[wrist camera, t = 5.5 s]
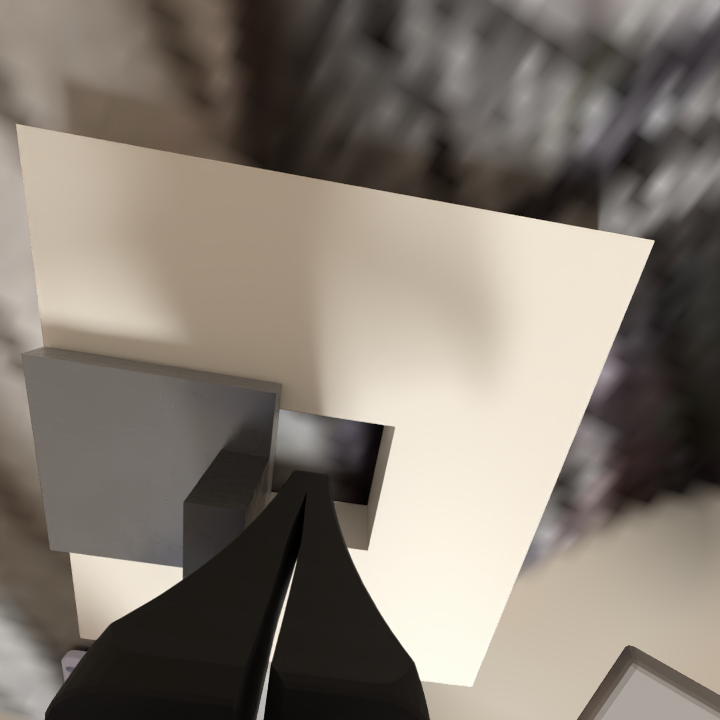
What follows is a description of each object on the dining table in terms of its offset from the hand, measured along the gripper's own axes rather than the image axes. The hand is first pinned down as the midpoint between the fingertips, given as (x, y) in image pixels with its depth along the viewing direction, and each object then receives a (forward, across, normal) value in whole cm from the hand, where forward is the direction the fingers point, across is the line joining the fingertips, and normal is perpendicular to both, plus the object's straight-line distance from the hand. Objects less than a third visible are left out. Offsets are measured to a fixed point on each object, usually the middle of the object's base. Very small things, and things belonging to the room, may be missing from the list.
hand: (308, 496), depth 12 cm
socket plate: (+3, 0, 0) cm, 3 cm away
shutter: (+1, +5, 0) cm, 5 cm away
